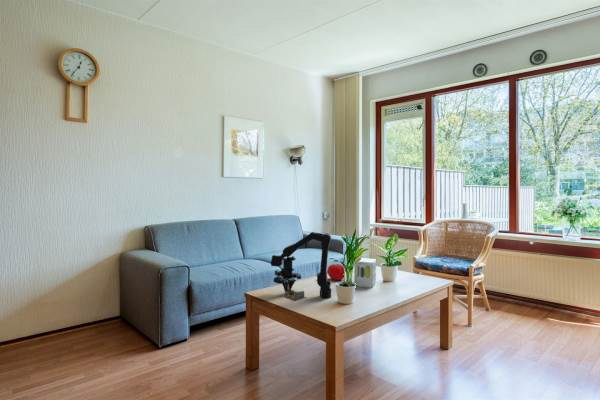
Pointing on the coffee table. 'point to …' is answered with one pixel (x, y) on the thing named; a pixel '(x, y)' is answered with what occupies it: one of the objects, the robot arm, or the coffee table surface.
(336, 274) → the tomato
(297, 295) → the beige mounting plate
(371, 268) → the supplement box
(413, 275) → the coffee table surface
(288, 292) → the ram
